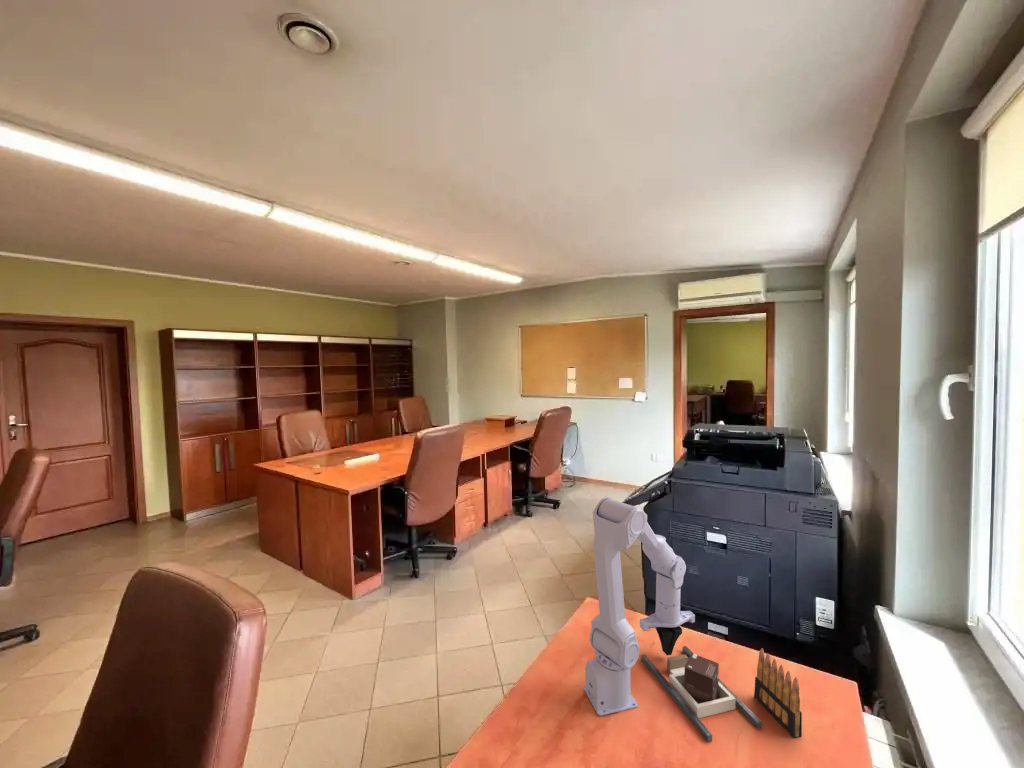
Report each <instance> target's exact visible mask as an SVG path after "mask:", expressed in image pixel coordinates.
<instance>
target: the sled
mask: <svg viewBox="0 0 1024 768" xmlns="http://www.w3.org/2000/svg"><path fill="white" fill-rule="evenodd" d="M688 659H689V658H688V657H687V656H686V655H685V654H684V653H683V654H680V655H678V654H677V655H673V656H669V657H667V658H666V671H667V673H669V675H668V676H669V677H668V679H669V681H668V682H669V684H670V685H671V686H672V687H673V688H674V690H675V691H676V692H677V693H678V694H679V695H680V697H681V698H682V699H683V700H684V701H685V703H686V704H687V705H688V706H689V707H690V709H691V710H692V711H693V712H694V713H695V715H696V716H697V717H698V718H699V719H701V718H706V717H708V716H709V717H710V716H714V715H717V714H721V713H725V712H729V711H733V710H736V706H735V704H736V698H735V697H734V696H733V695H732V694H731V693H730V692H729V691H728V690H727V689H726V688H725V687H724V686H723V685H722V684H721V683H720V682H719V681H718V697H719V698H717V700H713V701H708V702H704V703H700V704H698V703H697V702H696V701H695V700H694V699H693V697H692V696H691V695H690V694H689V693H688V692H687V691H686V689H684V672H685V665H686V663H687V660H688Z"/></svg>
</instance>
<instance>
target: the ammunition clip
mask: <svg viewBox="0 0 1024 768" xmlns="http://www.w3.org/2000/svg"><path fill="white" fill-rule="evenodd" d="M754 678H755V679H754V692H753V698H754V699H755V700H756V701H757V702H758V703H759V704H760V705H761V706H762V707H763V708H764V709H765V710H766V711H767V713H768V714H770V715H771V716H772V718H774V720H776V721H777V722H778V724H779V725H780V726H782V728H783V729H784V730H785V731H787V733H788V734H789V735H790V736H791V737H792V738H793V739H799V738H802V736H803V735H802V733H803V732H802V731H803V728H802V727H803V725H802V724H803V723H802V722H803V720H802V719H803V718H802V717H803V714H802V713H803V712H802V711H801V698H800V684H799V679H798V678H797V677H796V676H795V677H794V679H793V680H792V675H791V672H790V671H789V670H788V671H786V674H785V669H784V666H783V664H780V666H779V667H778V663H777V660H776V658H774V659H773V660H771V656H770V654H769V653H767V654H766V656H765V651H764V648H762V647H761V649H759V652H758V661H757V666H756V676H755V677H754Z"/></svg>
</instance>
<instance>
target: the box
mask: <svg viewBox="0 0 1024 768" xmlns="http://www.w3.org/2000/svg"><path fill="white" fill-rule="evenodd" d="M719 666H720V665H719V662H716V661H713V660H712V659H711V660H710V659H708V658H705V657H704V656H701V655H698V654H695V653H694V654H692V653H691V655H690V657H689V658H688V660H687V663H686V665H685V672H684V685H683V687H684V689H686V691H687V692H688V693H689V694H690V695H691V696H692V697H693V699H694V700H695V701H696V702H697V703H698V704H700V703H704V702H708V701H713V700H717V699H718V697H719V696H718V678H719V672H720V671H719Z"/></svg>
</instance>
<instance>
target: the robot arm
mask: <svg viewBox="0 0 1024 768" xmlns="http://www.w3.org/2000/svg"><path fill="white" fill-rule="evenodd" d="M592 517H593V519H592V520H593V528H594V529H593V530H594V540H593V555H594V566H595V576H596V577H595V578H596V587H597V597H598V598H597V600H598V611H599V613H598V614H597V615H595V617H594V618H593V619H592V620H591V622H590V623H591V630H590V633H589V643H590V646H591V647H592V648H593V649H594V655H596V656H595V657H594V658H592V659H590V660H588V661H586V663H585V667H584V668H585V673H584V674H585V678H584V679H585V680H584V682H585V683H584V684H585V686H584V687H583V690H584V692H585V694H586V696H587V697H588V699H589V702H590V703H591V704H592V706H593V709H594V710H595V712H596V713H597V715H598V717H599V716H600V717H602V716H607V715H610V714H614V713H618V712H623V711H628V710H632V709H637V708H638V707H639V704H638V702H637V700H636V699H635V698H634V696H633V695H632V693H631V670H632V669H631V668H633V667H634V666H635V665H636V663H637V661H638V659H639V657H640V644H639V641H638V640H637V637H636V631H635V630H634V628H633V627H632V625H631V624H630V622H628V619H627V618H626V612H625V611H626V610H625V608H626V607H625V600H624V599H625V597H624V586H623V573H622V561H621V551H627V550H629V548H630V547H631V546H632V545H633V543H634V542H635V540H637V539H638V540H639V541H640V542H641V543H642V544H641V545H642V546H641V547H642V549H641V550H642V551H643V553H644V554H645V555H646V556H647V558H648V559H649V560H650V566H651V567H650V568H651V570H653V571H654V572H656V574H655V576H656V582H655V611H654V613H652V614H650V615H648V616H647V617H644V618H640V619H639V628H640V629H641V630H642V631H643V632H648V630H649V629H655V630H656V633H657V634H658V638H659V641H660V645H661V651H662V652H663V653H664V654H665V655H666V656H672V654H673V652H674V648H675V645H676V643H677V641H678V639H679V638H680V636H681V635H682V634H683V629H682V627H681V625H682V624H684V623H687V622H689V623H691V624H693V623H695V622H696V615H695V614H694V612H692V611H691V610H681V591H682V590H681V588H682V586H683V584H684V578H685V577H684V576H685V574H686V571H687V570H686V569H687V565H686V562H685V560H684V559H683V558H682V556H680V555H677V554H675V552H674V549H673V548H672V547H671V546H670V545H669V544H668V542H667V541H666V540H667V538H666V536H664V535H661V534H655V533H654V531H653V529H652V528H651V526H650V524H649V522H648V514H647V513H646V512H645V511H644V509H643V508H641V507H640V506H634V505H631V504H629V503H628V504H627V503H625V502H622V501H619V500H616V499H612V498H611V497H608V496H605V497H602V498H601V499H600V500H599V501H598V503H597V505H596V506H595V508H594V510H593V511H592Z"/></svg>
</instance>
